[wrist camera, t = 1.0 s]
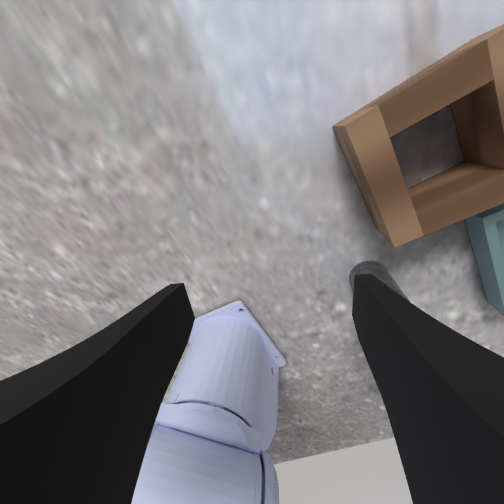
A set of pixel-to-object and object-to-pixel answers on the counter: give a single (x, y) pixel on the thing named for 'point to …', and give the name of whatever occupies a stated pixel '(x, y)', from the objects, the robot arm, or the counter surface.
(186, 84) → the counter surface
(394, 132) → the bore block
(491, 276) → the tray
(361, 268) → the red capped cylinder
